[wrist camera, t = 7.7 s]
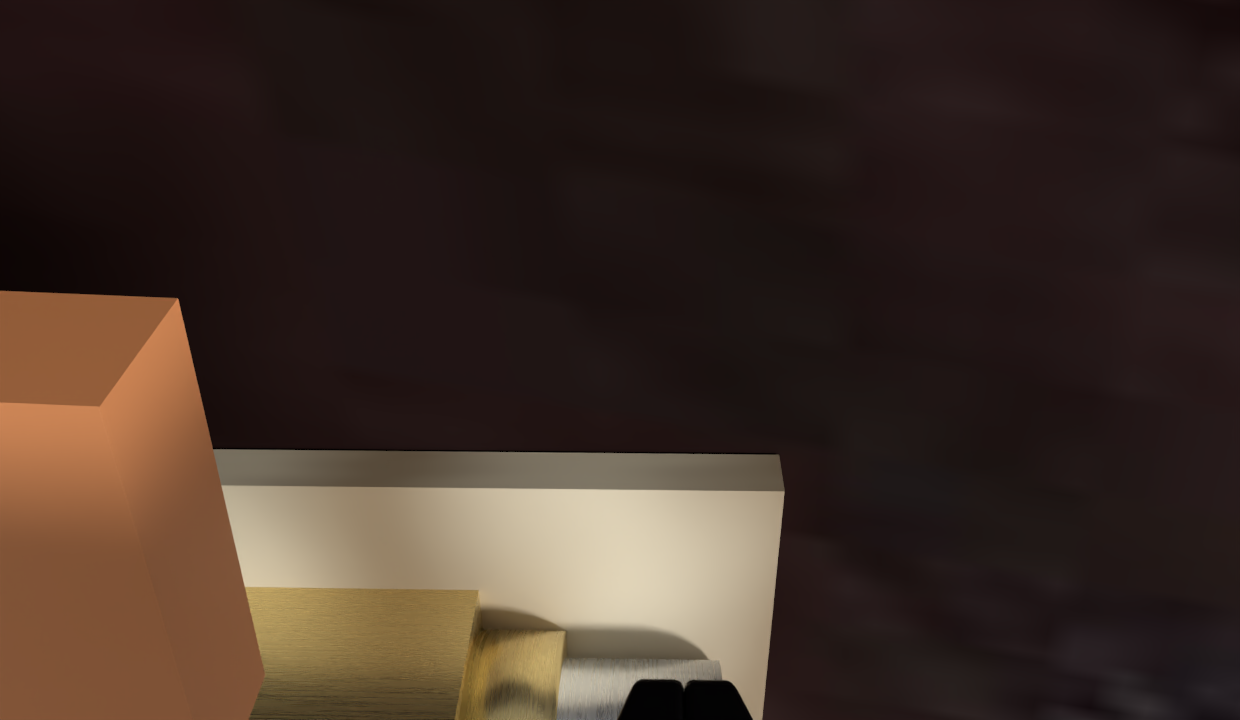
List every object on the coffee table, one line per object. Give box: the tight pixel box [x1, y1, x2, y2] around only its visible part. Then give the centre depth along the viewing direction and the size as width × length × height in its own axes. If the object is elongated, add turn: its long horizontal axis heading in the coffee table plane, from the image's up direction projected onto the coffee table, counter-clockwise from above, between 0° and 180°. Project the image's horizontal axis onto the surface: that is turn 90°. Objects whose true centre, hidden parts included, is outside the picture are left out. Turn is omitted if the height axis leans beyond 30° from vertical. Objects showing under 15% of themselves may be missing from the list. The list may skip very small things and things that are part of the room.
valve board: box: [213, 449, 785, 720], centre depth 22 cm, size 16×10×1 cm, turn 91°
